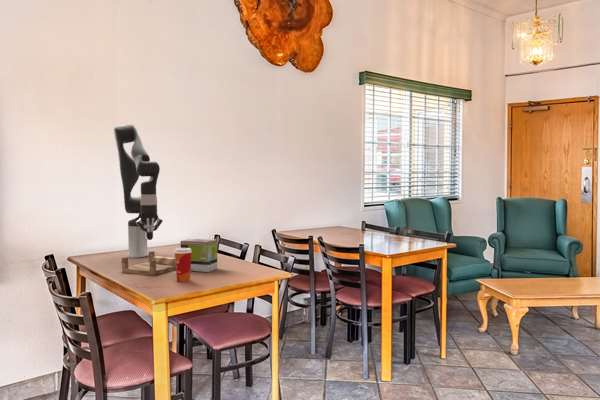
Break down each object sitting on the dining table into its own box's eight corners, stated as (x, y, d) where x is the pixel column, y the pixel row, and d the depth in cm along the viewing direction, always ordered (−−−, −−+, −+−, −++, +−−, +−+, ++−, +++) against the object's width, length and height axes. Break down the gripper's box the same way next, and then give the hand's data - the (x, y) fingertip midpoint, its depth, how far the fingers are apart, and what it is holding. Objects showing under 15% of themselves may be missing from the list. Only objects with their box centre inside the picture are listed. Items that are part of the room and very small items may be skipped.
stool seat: (151, 264, 246) (151, 251, 246) (181, 267, 238) (181, 253, 238) (122, 272, 228) (121, 257, 228) (153, 276, 220) (152, 260, 220)
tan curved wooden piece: (149, 262, 240) (149, 255, 239) (153, 262, 242) (153, 254, 242) (174, 265, 234) (174, 257, 234) (177, 264, 236) (177, 256, 236)
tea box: (218, 268, 237) (217, 238, 236) (207, 272, 228) (207, 241, 227) (191, 266, 242) (191, 237, 241) (180, 270, 233) (179, 240, 232)
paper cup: (176, 278, 215) (175, 247, 214) (193, 278, 216) (193, 247, 215) (172, 282, 207) (172, 250, 206) (191, 282, 208) (190, 250, 207)
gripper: (159, 202, 236) (160, 237, 238) (132, 203, 228) (133, 239, 230) (165, 203, 230) (165, 239, 232) (137, 205, 222) (138, 242, 224)
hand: (149, 239), depth 231 cm, fingers closed
